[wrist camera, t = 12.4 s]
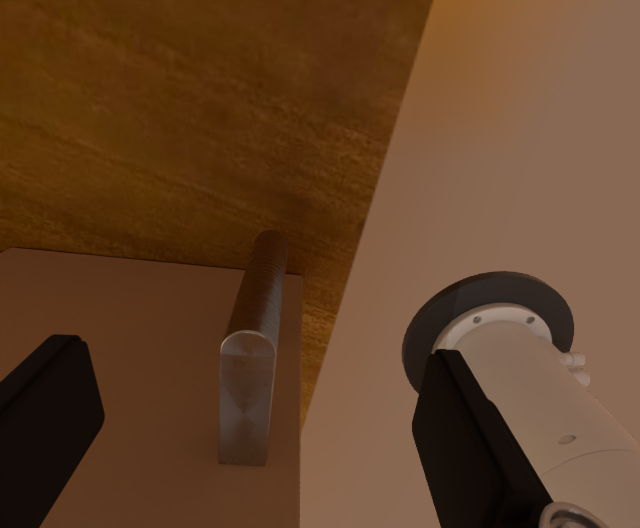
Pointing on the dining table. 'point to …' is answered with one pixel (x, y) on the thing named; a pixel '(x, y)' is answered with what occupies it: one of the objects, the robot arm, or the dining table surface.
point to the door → (172, 383)
